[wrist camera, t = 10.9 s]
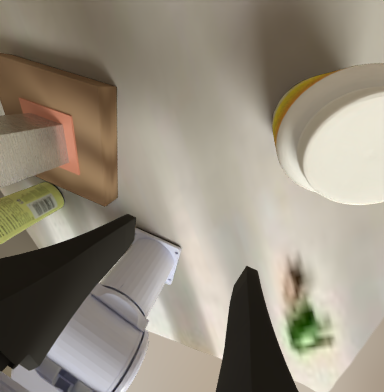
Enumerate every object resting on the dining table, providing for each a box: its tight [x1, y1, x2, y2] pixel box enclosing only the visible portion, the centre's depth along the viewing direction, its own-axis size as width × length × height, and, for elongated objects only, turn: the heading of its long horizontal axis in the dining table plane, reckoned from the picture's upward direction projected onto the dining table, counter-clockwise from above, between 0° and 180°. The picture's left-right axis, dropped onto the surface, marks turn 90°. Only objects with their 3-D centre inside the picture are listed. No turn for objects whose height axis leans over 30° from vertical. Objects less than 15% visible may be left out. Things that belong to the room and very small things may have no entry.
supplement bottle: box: [272, 63, 384, 205], centre depth 10 cm, size 6×6×10 cm
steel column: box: [0, 113, 69, 188], centre depth 18 cm, size 4×4×7 cm
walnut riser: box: [0, 53, 118, 206], centre depth 22 cm, size 14×14×3 cm
